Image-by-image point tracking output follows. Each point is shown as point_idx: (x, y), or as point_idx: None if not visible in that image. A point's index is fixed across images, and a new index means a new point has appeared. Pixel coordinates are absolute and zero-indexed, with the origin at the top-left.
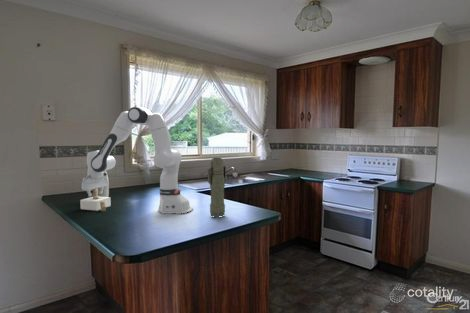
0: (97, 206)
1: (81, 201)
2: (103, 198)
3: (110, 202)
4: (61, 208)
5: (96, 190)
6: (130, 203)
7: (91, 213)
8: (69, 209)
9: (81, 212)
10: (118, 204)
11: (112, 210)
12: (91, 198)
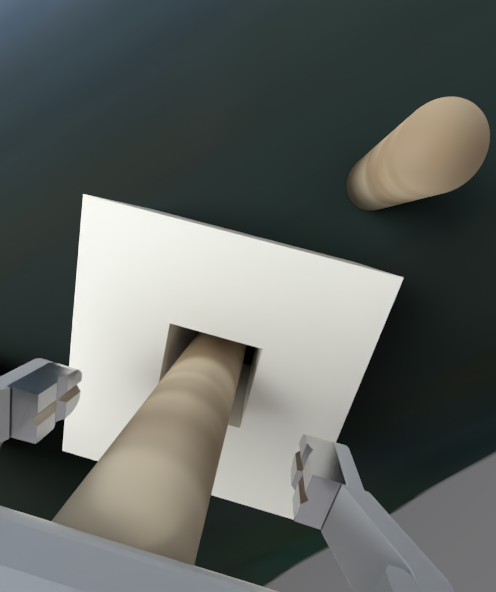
0: (357, 263)
1: None
2: (183, 267)
3: (134, 205)
4: (269, 567)
5: (176, 470)
6: (10, 4)
7: (476, 259)
8: None
9: (418, 375)
10: (83, 147)
11: (362, 69)
12: None
